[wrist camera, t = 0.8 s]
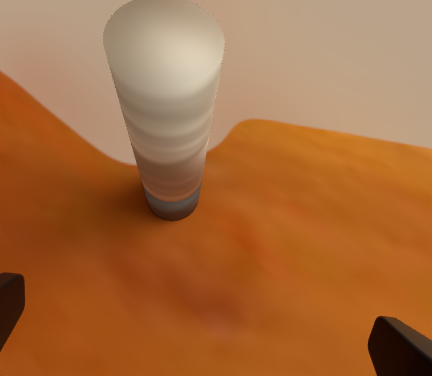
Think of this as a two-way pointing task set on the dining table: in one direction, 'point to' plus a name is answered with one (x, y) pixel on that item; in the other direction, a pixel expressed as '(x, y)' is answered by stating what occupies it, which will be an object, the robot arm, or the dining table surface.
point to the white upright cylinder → (166, 94)
